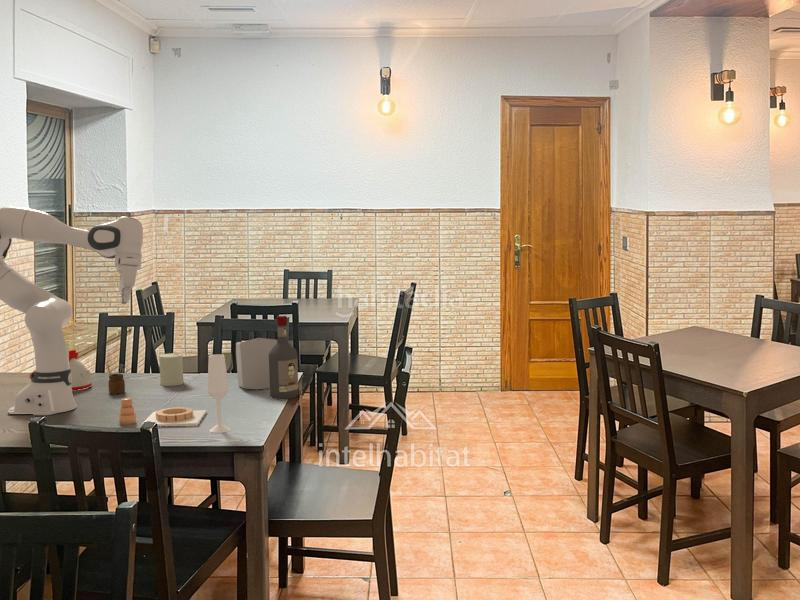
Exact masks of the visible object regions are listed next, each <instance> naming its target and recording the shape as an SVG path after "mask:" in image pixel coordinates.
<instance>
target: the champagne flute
mask: <svg viewBox="0 0 800 600" xmlns="http://www.w3.org/2000/svg"><path fill="white" fill-rule="evenodd" d="M225 357H226V356H225V355H224V354H210V355H208V370H207V388H206V391H207V394H208V395H209V396H210V397H211V398H212V400H215V401H216V413H217V414H216V415H217V416H216V417H217V424H216V425H215V426H213V427H211V429H209V430H208V431H210V432H209V433H212V432H213V433H212V434H223V433H227V432H229V431H231V428H229V427H228V426H226V425H223V424H222V409H221V408H222V407H221V406H222V405H221V404H222V403H221V400H223V399H224V398H225V397H227V395H228V393H229V390H230V388H229V380H228V373H227V365H226V358H225Z"/></svg>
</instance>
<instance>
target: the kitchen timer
mask: <svg viewBox="0 0 800 600" xmlns="http://www.w3.org/2000/svg"><path fill="white" fill-rule="evenodd" d="M68 353H69V368H70V369H71V375H72V383H71V388H72V390H78V389H83V388H87V387H89V386H91V385H92V384H93V383H92V378H91V370H89V369H87V367H86V366H85V364H83V362H82V361H80V360H78V356H79V352H78V351H77V350H76V349H71V350H68ZM92 386H93V385H92Z"/></svg>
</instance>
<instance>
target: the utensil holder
mask: <svg viewBox="0 0 800 600" xmlns="http://www.w3.org/2000/svg"><path fill="white" fill-rule="evenodd" d="M121 366H123V364H121V363H120V364H118V366H117V369H116V370H119V369H120V371H121V370H122V372H121V373H111V369H110V367H109V364H108V362H106V367H107V370H108V372H109V376H108V379H109V380H108V383H107V384H108V393H109V394H110V393H112V394H111V395H118V394H117V393H122V394H124V393H125V392H126V384H125V379H124V374H123V373H124V369H122V368H120V367H121Z"/></svg>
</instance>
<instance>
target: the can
mask: <svg viewBox="0 0 800 600" xmlns="http://www.w3.org/2000/svg"><path fill="white" fill-rule="evenodd" d="M158 359H159V375H160V377H159V378H160V383H159V384H160V385H161V386H164V387H174V386H180V385H183V384H184V383H185V382H184V371H183V370H184V368H183V367H184V366H183V354H182V353H179V352H178V353H176V352H174V353H173V352H170V353H164V354H160V355H159V356H158Z"/></svg>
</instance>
